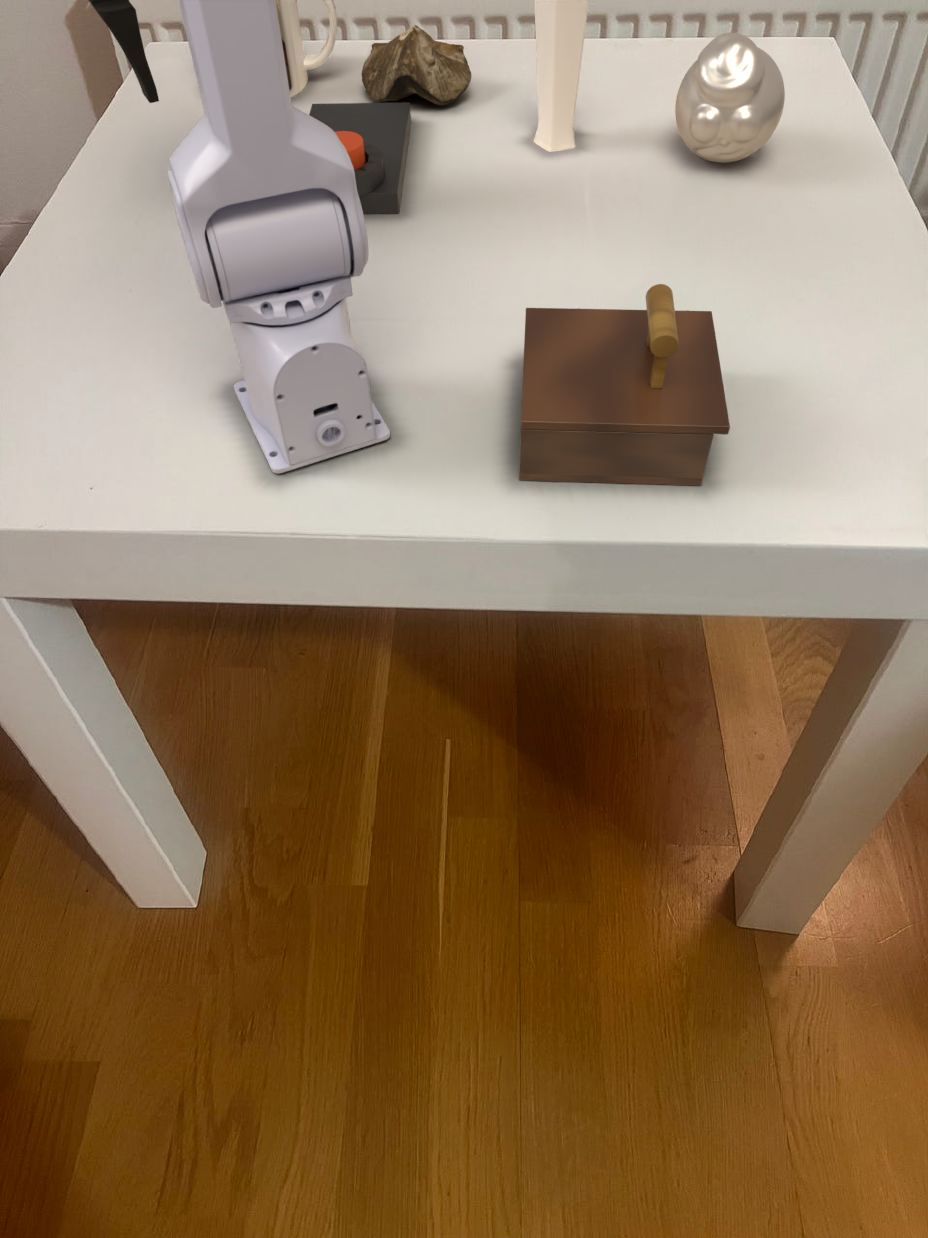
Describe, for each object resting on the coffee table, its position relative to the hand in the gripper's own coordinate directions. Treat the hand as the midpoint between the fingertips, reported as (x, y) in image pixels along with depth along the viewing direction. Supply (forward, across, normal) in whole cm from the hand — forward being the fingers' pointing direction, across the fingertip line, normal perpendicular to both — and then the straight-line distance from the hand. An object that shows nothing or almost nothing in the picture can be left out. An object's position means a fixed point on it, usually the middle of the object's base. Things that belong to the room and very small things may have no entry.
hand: (200, 85), depth 71 cm
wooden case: (+10, -13, +38) cm, 41 cm away
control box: (+10, -12, -1) cm, 15 cm away
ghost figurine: (+10, -40, +13) cm, 44 cm away
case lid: (+6, -13, +38) cm, 41 cm away
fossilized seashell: (+10, -22, -11) cm, 27 cm away
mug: (+10, -11, -20) cm, 25 cm away
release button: (+7, -9, +4) cm, 12 cm away
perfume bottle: (+10, -30, +4) cm, 32 cm away
